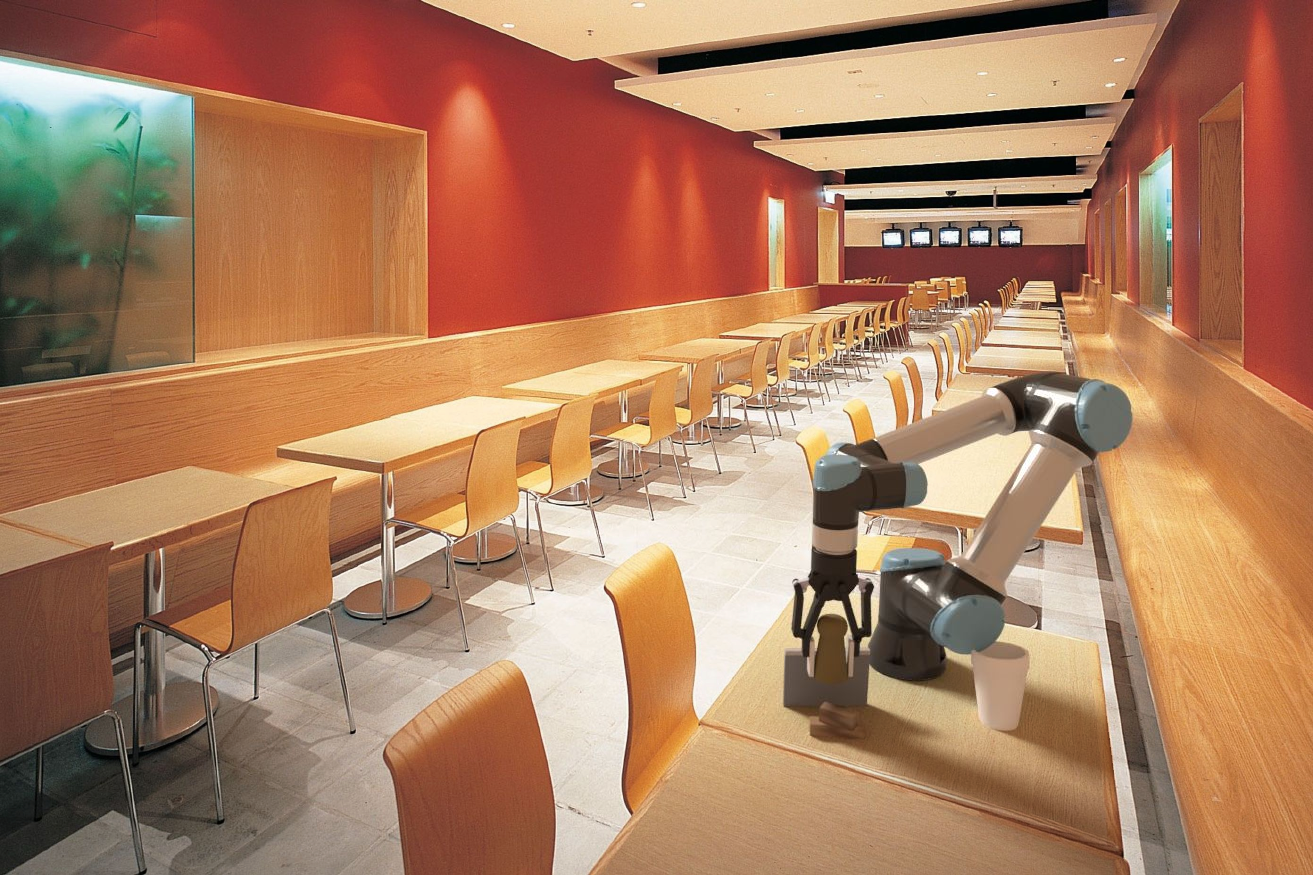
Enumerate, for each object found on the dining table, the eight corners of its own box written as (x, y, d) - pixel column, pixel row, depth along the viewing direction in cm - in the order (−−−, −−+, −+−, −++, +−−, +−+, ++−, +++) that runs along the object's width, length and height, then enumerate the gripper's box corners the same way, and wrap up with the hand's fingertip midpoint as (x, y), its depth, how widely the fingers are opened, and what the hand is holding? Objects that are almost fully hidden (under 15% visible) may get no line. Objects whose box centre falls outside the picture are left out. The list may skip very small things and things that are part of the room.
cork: (805, 670, 151) (807, 612, 149) (834, 664, 153) (837, 607, 151) (825, 687, 146) (827, 627, 143) (854, 680, 148) (858, 620, 145)
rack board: (865, 702, 156) (868, 647, 154) (867, 705, 155) (870, 650, 153) (782, 702, 156) (784, 648, 154) (783, 706, 155) (785, 651, 152)
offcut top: (857, 724, 145) (858, 711, 145) (852, 731, 143) (853, 717, 143) (824, 714, 148) (824, 701, 148) (818, 720, 146) (819, 707, 146)
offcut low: (862, 732, 147) (863, 719, 147) (864, 740, 145) (864, 727, 144) (809, 729, 148) (809, 715, 148) (810, 737, 146) (810, 724, 145)
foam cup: (1038, 732, 146) (1040, 658, 145) (987, 737, 145) (988, 662, 143) (1008, 709, 155) (1010, 639, 154) (960, 713, 154) (961, 643, 153)
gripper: (885, 539, 148) (879, 662, 153) (774, 539, 149) (772, 662, 154) (896, 554, 141) (889, 683, 146) (780, 555, 141) (777, 683, 146)
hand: (829, 672), depth 150 cm, fingers closed on cork, 6 cm apart
